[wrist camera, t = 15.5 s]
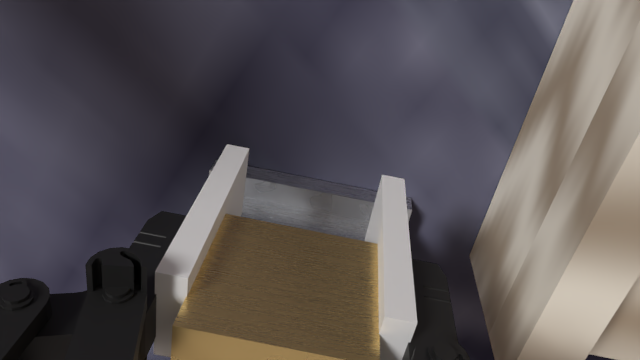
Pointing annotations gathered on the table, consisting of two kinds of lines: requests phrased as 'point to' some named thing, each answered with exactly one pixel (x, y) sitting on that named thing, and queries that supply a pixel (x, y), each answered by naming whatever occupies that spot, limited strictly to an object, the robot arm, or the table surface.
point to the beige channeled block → (571, 202)
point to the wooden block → (280, 297)
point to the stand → (308, 203)
